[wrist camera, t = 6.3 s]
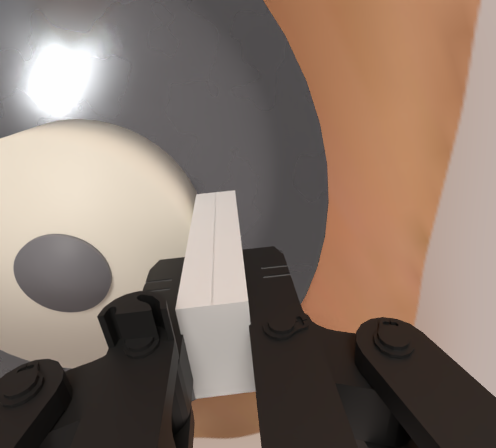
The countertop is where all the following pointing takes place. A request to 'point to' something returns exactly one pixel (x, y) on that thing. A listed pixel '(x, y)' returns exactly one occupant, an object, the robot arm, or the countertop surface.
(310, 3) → the countertop surface
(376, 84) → the countertop surface
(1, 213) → the cream donut
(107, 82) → the turntable
